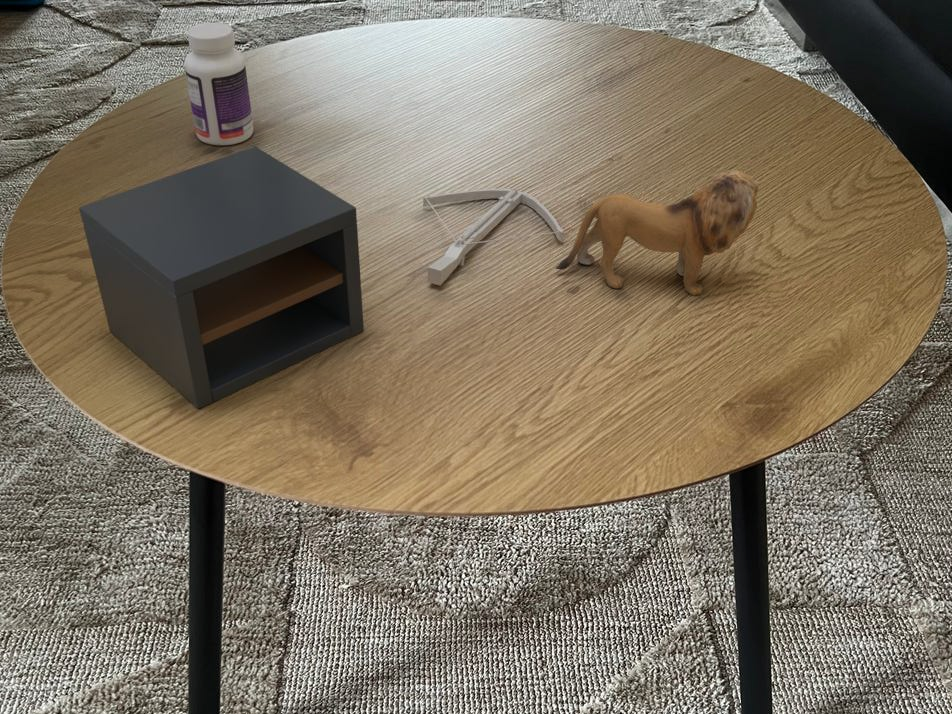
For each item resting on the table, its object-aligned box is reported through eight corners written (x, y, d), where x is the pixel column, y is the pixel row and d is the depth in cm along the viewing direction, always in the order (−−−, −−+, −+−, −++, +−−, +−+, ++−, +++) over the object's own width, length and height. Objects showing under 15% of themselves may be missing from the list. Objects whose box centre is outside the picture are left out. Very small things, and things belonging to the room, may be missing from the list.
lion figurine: (735, 262, 88) (757, 157, 82) (747, 298, 84) (770, 191, 78) (554, 258, 88) (561, 153, 82) (556, 294, 84) (565, 186, 78)
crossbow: (452, 191, 98) (452, 169, 96) (584, 223, 94) (586, 201, 93) (362, 265, 86) (361, 241, 85) (508, 306, 83) (510, 282, 81)
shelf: (109, 331, 80) (78, 206, 73) (270, 264, 87) (255, 145, 80) (198, 409, 73) (173, 281, 66) (364, 330, 80) (356, 207, 73)
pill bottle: (260, 123, 105) (247, 20, 99) (246, 148, 101) (231, 43, 95) (205, 120, 106) (189, 17, 99) (188, 145, 102) (170, 39, 95)
